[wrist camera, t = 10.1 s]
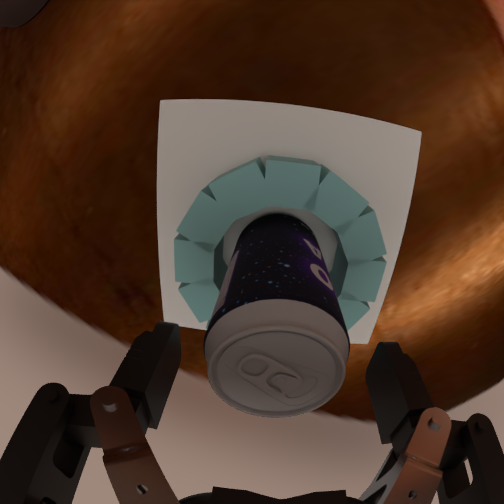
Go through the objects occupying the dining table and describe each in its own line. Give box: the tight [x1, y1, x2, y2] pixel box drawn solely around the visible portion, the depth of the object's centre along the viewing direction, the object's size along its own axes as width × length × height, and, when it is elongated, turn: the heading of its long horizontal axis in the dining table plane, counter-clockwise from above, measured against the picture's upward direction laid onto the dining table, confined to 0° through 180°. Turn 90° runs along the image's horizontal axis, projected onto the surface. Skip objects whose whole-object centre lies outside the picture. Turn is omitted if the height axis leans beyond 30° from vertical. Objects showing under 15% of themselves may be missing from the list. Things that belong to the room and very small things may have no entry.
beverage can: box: [204, 214, 350, 418], centre depth 15 cm, size 6×6×12 cm
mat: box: [157, 99, 422, 344], centre depth 20 cm, size 18×18×1 cm
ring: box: [174, 155, 387, 331], centre depth 19 cm, size 13×13×4 cm
